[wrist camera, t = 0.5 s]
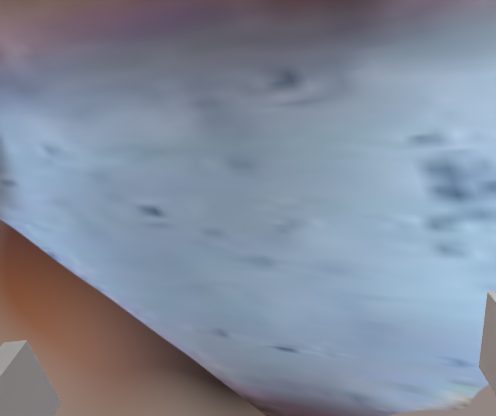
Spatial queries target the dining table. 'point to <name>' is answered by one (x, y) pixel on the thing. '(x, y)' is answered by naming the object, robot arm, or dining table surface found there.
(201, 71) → the dining table surface
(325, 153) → the dining table surface
